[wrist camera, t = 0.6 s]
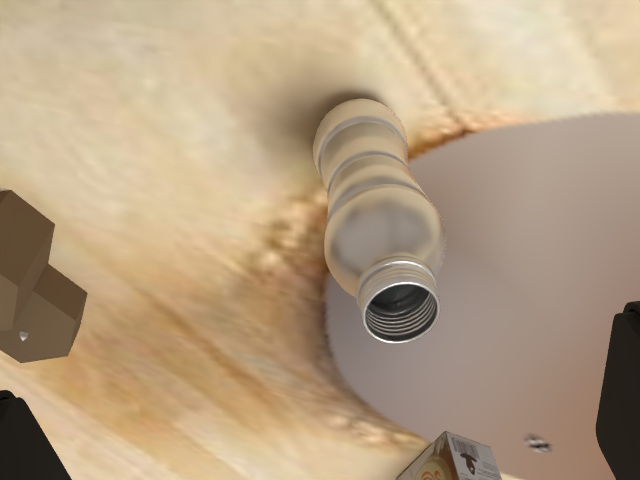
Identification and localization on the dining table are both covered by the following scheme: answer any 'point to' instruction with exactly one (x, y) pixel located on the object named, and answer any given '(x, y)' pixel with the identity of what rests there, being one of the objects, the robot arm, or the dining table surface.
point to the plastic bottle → (379, 221)
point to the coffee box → (454, 461)
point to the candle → (33, 287)
